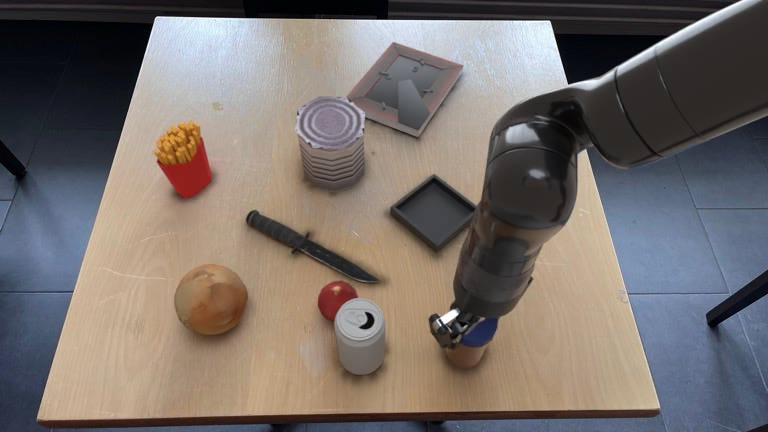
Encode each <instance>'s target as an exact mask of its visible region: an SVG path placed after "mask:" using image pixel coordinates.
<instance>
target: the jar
mask: <svg viewBox="0 0 768 432" xmlns="http://www.w3.org/2000/svg"><path fill="white" fill-rule="evenodd" d="M487 346H488V344H486V345H485V346H482V347H478V348H472V347H470V348H469V347H467V346H465V345H463V344H461V343H460V344H459V347H458V349H456V350H455V351H453V350H452V349H450V350H449V349H448V348H444V350H445V354H446V357H447V359H448V360H449V361H450V362H451V363H452V364H453V365H454V366H457V367H459V368H463V369H465V368H466V369H467V368H471V367H474V366H476V365H477V364H478V363H479V362H480V361H481V359H482V357H483V354H484V352H485V350H486V348H487Z"/></svg>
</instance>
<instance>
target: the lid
mask: <svg viewBox="0 0 768 432" xmlns="http://www.w3.org/2000/svg"><path fill="white" fill-rule="evenodd" d="M467 323H468V322H467ZM468 324H469V323H468ZM453 326H454V328H455V329H456V330H457V331H458V329H457V328H456V326H455V325H454V324H453ZM498 327H499V321H498V319H497V318H485V320H484V321H481V322H479V324H478V325H477V326H476V327H475V328H474V330H473V331H472V332H471V333H468V334H466V335H463V337H462V339H461V342H460V343H461V344H463V345H465V346H467V347H469V348H470V347H472V348H478V347H482V346H485V345H486V344H487V345H488V344H490V342H492V341H493V338H494V336H495V335H496V332H497V330H498Z"/></svg>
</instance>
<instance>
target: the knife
mask: <svg viewBox="0 0 768 432" xmlns="http://www.w3.org/2000/svg"><path fill="white" fill-rule="evenodd" d="M245 222H246V224H247V225H248V226H250V227H252V226H253V227H255V228H256V229H258V230H260V231H261V232H263V233H264V234H267V235H268V236H270V237H272V238H273V239H276V240H278V241H280V242H281V243H284V244H286V245H289V246H291V247H293V248H292V250H291V254H295V253H296V252H298V251H300V252H302V253H305V254H306V255H309V256H310V257H312V258H314V259H316V260H318V261H320V262H322V263H324V264H325V265H327V266H329V267H330V268H333V269H334V270H336V271H339V272H340V273H342V274H344V275H346V276H348V277H349V278H351V279H353V280H356V281H359V282H363V283H379V282H382V280H381V279H379V278H378V277H377V276H374V275H373V274H372V273H369V272H368V271H366V270H364V268H361V267H360V266H359V265H357V264H356V263H353V262H352V261H351V260H349V259H347V258H346V257H343V256H341V255H340V254H337V253H335V252H334V251H332V250H330V249H328V248H326V247H324V246H322V245H321V244H318V243H317V242H315V241H313V240H311V239H309V238H310V237H309V236H310V233H311V232H310V231H307V233H306V234H305V236H304V235H302V234H301V233H299V232H298V231H296V230H294V229H292V228H291V227H289V226H287V225H285V224H283V223H281V222H279V221H277V220H274V219H273V218H270V217H269V216H266V215H263V214H261V213H260V211H259V210H257V209H253V210H250V211H249V212H248V213H247V215H246V217H245Z"/></svg>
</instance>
